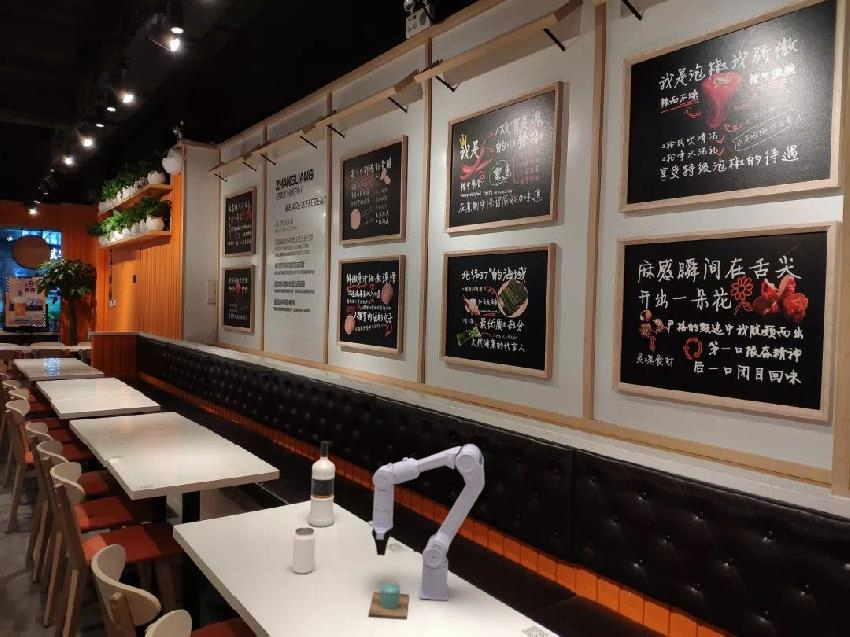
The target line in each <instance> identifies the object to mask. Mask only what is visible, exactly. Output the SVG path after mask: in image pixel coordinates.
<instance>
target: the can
mask: <svg viewBox="0 0 850 637" xmlns="http://www.w3.org/2000/svg"><path fill="white" fill-rule="evenodd" d="M294 531H295V533H294V535H293V541H292V542H293V544H292V546H293V547H292V548H293V549H292V567H291V568H292V571H293V572H294V573H296V574H299V575H303V574H310V573H311V572H313V570H314V568H315V553H316V552H315V550H316V534H315V530H314V528H312V527H309V526H308V527H305V526H304V527H298V528H296V530H294Z"/></svg>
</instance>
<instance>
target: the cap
mask: <svg viewBox="0 0 850 637" xmlns="http://www.w3.org/2000/svg"><path fill="white" fill-rule="evenodd" d="M379 590H380V591H379V592H380V605H381V607H383V608H386V609H393V608H396V607H398V606H399V595H400V594H401V593H400V591H401V587H400V585H398V584H396V583H392V582H390V583H389V582H388V583H384V584H381V586H380V589H379Z"/></svg>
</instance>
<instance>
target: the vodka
mask: <svg viewBox="0 0 850 637" xmlns="http://www.w3.org/2000/svg"><path fill="white" fill-rule="evenodd" d="M328 456H329V441H327V440H325V441H321V442H320V459H318V460H317V461H315V462H314V463H313V464H312V467H311V490H310V491H311V494H310V508H309V509H310V510H309V515H308V521H307V522H308V524H310V525H311V526H314V527H316V526H317V527H316V528H324V527H329V526H331V525H332V524H334V522H335V515H334V514H335V513H334V498H335V495H334V490H335V489H334V488H335V487H334V485H335V475H336V474H335V472H336V465H335V464H334V462H332V461H330V460H329V459H328Z"/></svg>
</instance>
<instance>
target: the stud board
mask: <svg viewBox="0 0 850 637" xmlns="http://www.w3.org/2000/svg"><path fill="white" fill-rule="evenodd" d="M409 599H410V594H408V593H407V594H406V593H400V595H399V606H398V607H396V608H393V609H386V608H383V607H381V605H380V591H379V592H377V591H374V592H373V594H372V598H371V601H370V602H371V603H370V605H369V611H368V615H367V616H368V618H379V619H380V618H381V619H394V620H407V616H408V609H409V608H408V607H409Z"/></svg>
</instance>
